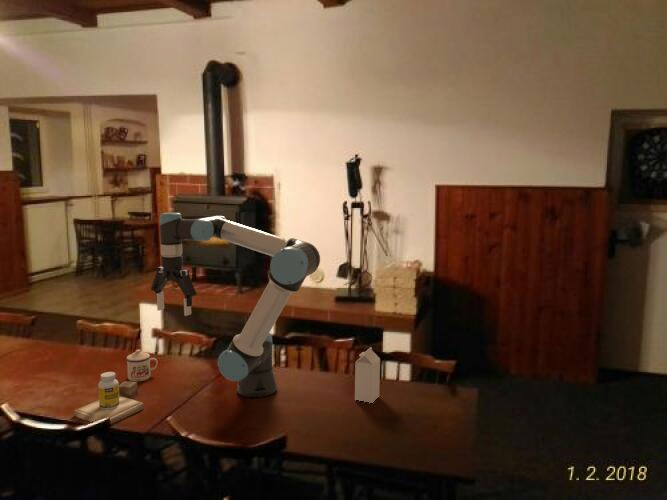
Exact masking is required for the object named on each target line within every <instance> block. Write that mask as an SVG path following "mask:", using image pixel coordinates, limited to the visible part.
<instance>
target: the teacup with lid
mask: <svg viewBox="0 0 667 500" xmlns="http://www.w3.org/2000/svg"><path fill="white" fill-rule="evenodd" d="M125 360H126V363H127V365H126V366H127V379H128V381H130V382H137V383H138V382H143V381H147V380H148V379H150V378H151V371H154V370H155V369H156V368H157V366H158V364H159V362H158V359H157V358H155V357H151V355H150V354H149V353H148V352H144V351H142V350H141V349H135V352H133V353H131V354H128V355H127V356H126V359H125ZM151 361H155V365H154V366H153V367H151Z"/></svg>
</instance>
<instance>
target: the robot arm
mask: <svg viewBox="0 0 667 500" xmlns="http://www.w3.org/2000/svg"><path fill="white" fill-rule="evenodd" d="M158 226H159V234H160V255H161V257H160V261H161V265H160V266H157V267H156V273H155V277H154V279H153V281H152V285H151V288H150V290H151V291H153V292H154V293H155V300H156V309H157V311H162V310H165V295H164V294H165V293H164V291H163V290H164V288H165V287H166V286H167V284H168V282H169V281H170V282H174V283H175V284H177V285H178V287H179V289H180V290H181V292H182V294H183V295H184V297H183V313H184V316H185V317H187V316H189V315H192V306H193V297H195V296H197V292H196V289H195V287H194V284H193V281H192V279H191V277H190V271H189V269H184V270H183V268H182V267H183V266H184V260H183V259H184V258H183V257H184V256H183V241H194V242H195V241H196V242H199V243H200V242H207V241H210V240H211V238H216V239H219V240H222V241H226V242H227V243H228V242H229V243H231V244H234V245H238V246H240V247H243V248H247V249H248V250H249V249H250V250H251V251H254V252H255V251H256V252H258V253H261V254H265V255H267V256H270V257H272V258H271V260H270V264H269V265H270V267H269V269H270V270H269V272H268V274H267V277H268V280H269V281H268V283H267V285H266V287H265V289H264V291H263V292H262V294H261V296H260V297H259V299H258V302H257V304H256V305H255V306H254V309H253V310H252V312H251V314H250V316H249V318H248V320H247V321H246V323H245V325H244V327H243V328H242V331H241V332H240V333H239V334H236V335H235V336H233V339H232V340H231V342H230V343H229V345H228V347H227V349H226V350H223V351H222V352H221V353H220V354H219V355H218V358H217V366H218V367H217V368H218V369H219V373H220V374H221V375H222V376H223V377H224V378H225V379H227V380H228V381H232V382H238V383H237V393H238V394H239V395H240V396H242V397H245V396H246V397H245V398H249V397H261V398H264V397H263V396H266V397H268V396H267V395H270V394H272V393H274V392H275V391H276V390H277V391H278V381H277V380H276V376H275V373H274V370H273V343H274V342H273V335H272V334H271V333H270V332H271V331H272V329H273V328H274V325H275V323H276V321H277V320H278V318H279V317H280V315H281V313H282V311H283V310H284V308H285V306H286V304H287V302H288V301H289V299H290V297H291V295H292V294H293V293H297V292H299V291H300V288H301V287H302V285H303V283H304V282H305V280H306V278H307V277H308V276H311V275H312V274H314V273H316V271H317V269H318V268H319V267H320V264H321V263H320V262H321V255H320V251H319V250H318V248H316V246H315V245H314V244H312V243H310V242H307V241H304V240H300V239H297V238H294V237H291V238H289V239H288V238H284V237H280V236H278V235H274V234H272V233H268V232H265V231H262V230H259V229H256V228H253V227H249V226H247V225H243V224H240V223H237V222H234V221H230V220H228V218H226V216H223V215H213V216H207V217H201V218H194V219H193V218H192V219H191V218H183V217H182V213H180V212H162V213H161V214H160V215H159V225H158ZM277 391H276V392H277ZM276 392H275V393H276ZM275 393H274V394H275ZM272 395H273V394H272ZM270 396H271V395H270Z"/></svg>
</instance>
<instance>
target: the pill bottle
mask: <svg viewBox="0 0 667 500" xmlns="http://www.w3.org/2000/svg"><path fill="white" fill-rule="evenodd" d="M119 385H120V383H119V381H118V380H117V379H116V372H114V371H107V372H106V371H105V372H103V373H101V374H100V381H99V382H98V386H97V387H98V388H97V390H98V400H99V406H100V408H102V409H113V408H115V407H117V406H118V405H119Z"/></svg>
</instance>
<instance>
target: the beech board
mask: <svg viewBox="0 0 667 500" xmlns="http://www.w3.org/2000/svg"><path fill="white" fill-rule="evenodd" d="M144 409H145V403H144V402H142V401H138V400H135V399H129V398H126V397H122V396H119V405H118V406H117V407H115V408H113V409H102V408H100V406H99V399H98V400H95V401H93V402H91V403H88V404H86V405H83V406H81V407H79V408H77V409H74V410H73V417H76V418H78V419H82V420H84V421H87V422H90V423H92V421H95V420H99V419H103V418H107V417H109V418H110V421H111V423H113V422H115V423H117V422H119V421H121V420H123V419H125V418H128V417H129V416H132V415H135V414H136V413H138V412H139V411H142V410H144ZM127 416H128V417H127ZM120 419H121V420H120ZM118 420H119V421H118ZM116 421H117V422H116ZM113 424H114V423H113Z"/></svg>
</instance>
